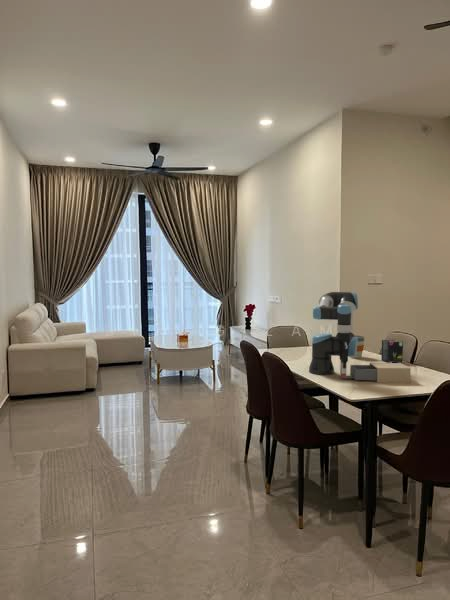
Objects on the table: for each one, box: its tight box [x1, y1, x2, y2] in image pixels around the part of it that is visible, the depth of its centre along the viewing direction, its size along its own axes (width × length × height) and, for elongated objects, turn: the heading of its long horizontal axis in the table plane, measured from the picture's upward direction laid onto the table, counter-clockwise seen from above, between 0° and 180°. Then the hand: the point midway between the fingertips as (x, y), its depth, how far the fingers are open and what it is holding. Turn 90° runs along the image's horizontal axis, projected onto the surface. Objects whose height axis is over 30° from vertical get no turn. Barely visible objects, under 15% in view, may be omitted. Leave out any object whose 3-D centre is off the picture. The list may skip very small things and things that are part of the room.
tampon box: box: [380, 339, 404, 363], centre depth 304 cm, size 11×9×15 cm
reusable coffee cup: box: [348, 335, 365, 359], centre depth 320 cm, size 12×13×15 cm
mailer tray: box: [339, 360, 377, 381], centre depth 252 cm, size 24×12×10 cm, turn 88°
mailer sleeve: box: [369, 362, 412, 383], centre depth 252 cm, size 18×15×8 cm
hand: (343, 372), depth 252 cm, fingers closed on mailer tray, 2 cm apart
